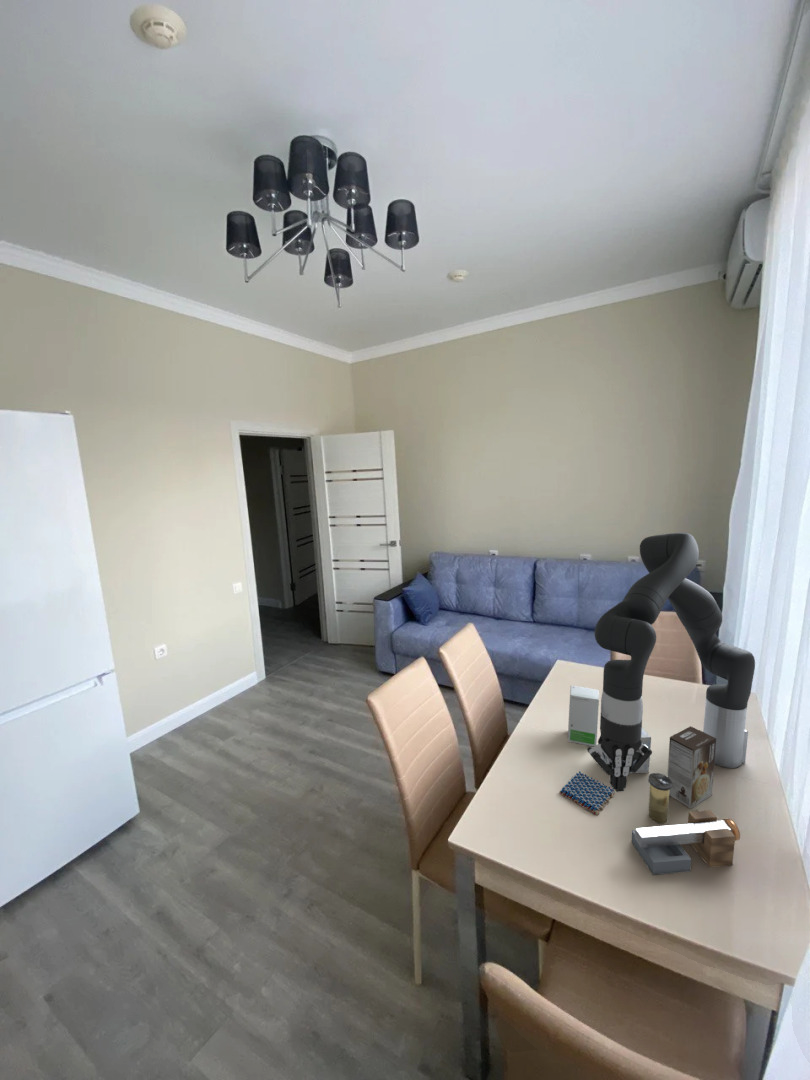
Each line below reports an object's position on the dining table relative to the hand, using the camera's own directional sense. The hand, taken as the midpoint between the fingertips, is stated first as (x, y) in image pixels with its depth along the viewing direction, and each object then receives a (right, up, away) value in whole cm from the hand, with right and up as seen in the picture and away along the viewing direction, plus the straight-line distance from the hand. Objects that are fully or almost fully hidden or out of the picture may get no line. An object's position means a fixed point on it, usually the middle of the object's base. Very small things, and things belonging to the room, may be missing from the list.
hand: (617, 788), depth 91 cm
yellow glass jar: (+16, -15, +14) cm, 26 cm away
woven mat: (+3, -14, +22) cm, 26 cm away
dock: (+11, -17, +4) cm, 20 cm away
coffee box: (+28, -13, +20) cm, 37 cm away
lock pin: (+16, -13, +3) cm, 21 cm away
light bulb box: (+17, -12, +31) cm, 38 cm away
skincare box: (+11, -10, +44) cm, 46 cm away
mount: (+22, -16, +4) cm, 27 cm away
